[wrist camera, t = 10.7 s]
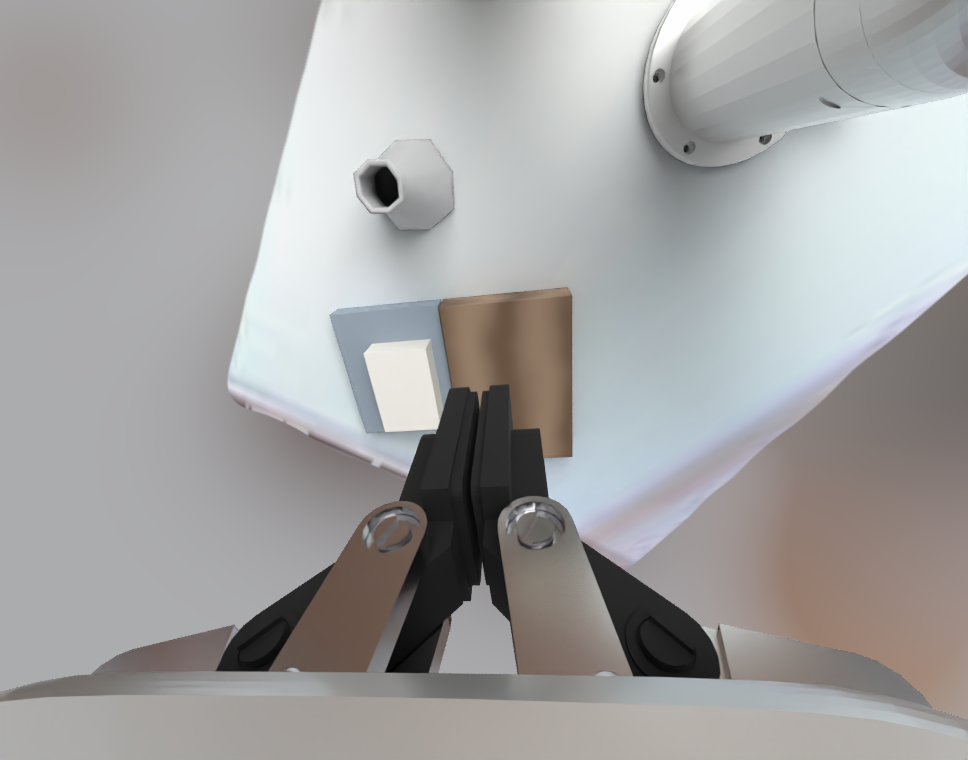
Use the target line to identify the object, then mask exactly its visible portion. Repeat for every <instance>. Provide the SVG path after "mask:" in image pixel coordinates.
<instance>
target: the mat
mask: <svg viewBox="0 0 968 760" xmlns="http://www.w3.org/2000/svg"><path fill="white" fill-rule="evenodd" d="M440 305H441V299H440V300H430V301H419V302H409V303H398V304H388V305H377V306H367V307H356V308H345V309H338V310H336V311H335V312H333V313H332V314H331V315H330V318H331V321H332V325H333V328H334V331H335V334H336V337H337V341H338V344H339V347H340V350H341V353H342V357H343V360H344V363H345V366H346V370H347V373H348V376H349V379H350V382H351V386H352V389H353V392H354V395H355V399H356V402H357V405H358V408H359V411H360V415H361V418H362V421H363V424H364V428H365V431H366V433H380V432H385V430H384V426H383V423H382V419H381V415H380V412H379V408H378V405H377V401H376V397H375V394H374V390H373V387H372V383H371V379H370V376H369V372H368V369H367V365H366V361H365V358H364V352H365V351H366V350H367V349H368V348H369V347H370V346H371V344H376V343H388V342H401V341H413V340H425V339H431V344H432V349H433V355H434V360H435V366H436V371H437V376H438V382H439V387H440V393H441V398H442V404H443V409H444V405H445V402H446V398H447V395H448V392H449V389H450V388H452V382H451V376H450V371H449V365H448V359H447V353H446V347H445V341H444V335H443V329H442V323H441V318H440V312H439V307H440Z"/></svg>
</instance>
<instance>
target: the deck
mask: <svg viewBox="0 0 968 760" xmlns="http://www.w3.org/2000/svg"><path fill="white" fill-rule="evenodd" d="M439 312H440V318H441V323H442V329H443V335H444V341H445V347H446V353H447V359H448V365H449V371H450V376H451V382H452V388H460V387H469V388H470V391H471V392H475V391H477V393H478V399H479V407H480V406H481V398H482V391H489V387H490V385H503V384H509V388H510V398H511V409H512V420H513V430H515V429H532V428H540V434H541V442H542V450H543V457H544V458H556V457H572V295H571V293H570V291H569V290H568V288H557V289H546V290H535V291H525V292H514V293H504V294H493V295H483V296H472V297H462V298H451V299H444V300H443V302H442V303H441V305H440V307H439Z"/></svg>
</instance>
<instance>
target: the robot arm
mask: <svg viewBox="0 0 968 760" xmlns="http://www.w3.org/2000/svg"><path fill="white" fill-rule="evenodd" d="M654 75H657V77H658V81H657V83H655V82H654V81H653V76H654ZM643 89H644V106H645V110H646V114H647V118H648V122H649V125H650V127H651V129H652V131H653V133H654V136H655V137H656V139H657V140H658V141H659V143H660V144H661V145H662V147H663V148H664V149H665V150H666V151H668V152H669V153H670V154H671V155H672V156H674V157H675V158H677V159H679V160H681V161H683V162H685V163H687V164H691V165H696V166H701V167H718V166H725V165H732V164H735V163H738V162H741V161H744V160H747V159H749V158H751V157H753V156H755V155H757V154H759V153H761V152H763V151H765V150H766V149H767V148H769V147H770V146H772V145H773V144H774V143H776V142H777V141H778V140H780V139H781V138H782V137H783V136H784V135H785V134H786V133H787V132H788V131H789V130H794V129H799V128H804V127H809V126H814V125H819V124H824V123H829V122H834V121H839V120H844V119H849V118H854V117H859V116H864V115H869V114H874V113H879V112H884V111H889V110H894V109H899V108H904V107H908V106H912V105H917V104H922V103H927V102H932V101H937V100H942V99H946V98H950V97H954V96H957V95H961V94H965V93H968V0H674V1H673V2H672V3H671V5H670V7H669V9H668V10H667V12H666V14H665V15H664V17H663V19H662V21H661V22H660V24H659V27H658V29H657V31H656V34H655V36H654V39H653V41H652V43H651V47H650V50H649V54H648V58H647V62H646V66H645V75H644V85H643ZM760 136H761V141H760V142H759V138H760ZM685 145H687V147H688V149H687V151H686V152H684V146H685ZM482 563H483V568H484V574H485V580H486V584H487V585H489V586H490V593H491V598H492V604H493V605H494V606H495V607H496V608H497V609H498V610H499V611H500V612H501V613H502V614H503V615H504V616H505V617H506V618H507V619H508V620H509V621H510V626H511V633H512V640H513V646H514V653H515V660H516V667H517V674H518V675H516V674H514V675H512V674H442V673H441V674H440V673H438V671H439V668H440V664H441V661H442V657H443V653H444V650H445V646H446V642H447V639H448V635H449V631H450V627H451V614H452V613H453V612H454V611H455V610H457V609H458V608H459V607H460V606H461V605H462V604H463V601H471V593H472V585H480V581H481V568H482ZM0 760H968V720H967V719H964V718H961V717H958V716H955V715H952V714H949V713H946V712H942V711H939V710H936V709H933V708H932V707H931V705H930V704H929V703H928V702H927V700H926V699H925V698H924V696H923V695H922V694H921V693H920V692H919V691H917V689H915V688H914V687H913V686H912V685H911V684H910V683H908V682H907V681H906V680H905V679H904V678H903V677H902V676H901V675H899V674H897V673H896V672H894V671H893V670H891V669H889V668H887V667H886V666H884V665H883V664H881V663H879V662H878V661H876V660H873V659H870V658H867V657H864V656H862V655H859V654H856V653H852V652H847V651H843V650H838V649H833V648H829V647H824V646H820V645H815V644H811V643H806V642H801V641H796V640H792V639H788V638H783V637H778V636H774V635H769V634H765V633H760V632H755V631H751V630H746V629H742V628H736V627H732V626H728V625H723V624H719V626H718V629H712V628H708V627H703V626H700V625H699V624H698V623H697V622H696V621H695V620H694V619H693V618H691V617H690V616H689V615H688V614H687V613H685V612H684V611H683V610H681V609H679V608H678V607H677V606H675V605H674V604H672V603H671V602H670V601H668V600H666V599H665V598H664V597H662V596H661V595H659V594H658V593H656V592H655V591H654V590H652V589H651V588H649V587H648V586H646V585H644V584H643V583H642V582H640V581H639V580H637V579H636V578H635V577H633V576H632V575H630V574H629V573H627V572H626V571H624V570H623V569H622V568H620V567H619V566H617V565H616V564H614V563H613V562H611V561H610V560H609V559H607V558H606V557H604V556H603V555H601V554H600V553H598V552H597V551H595V550H594V549H593V548H591V547H590V546H588V545H587V544H585V543H584V542H582V541H581V540H580V537H579V535H578V532H577V529H576V527H575V524H574V522H573V519H572V517H571V515H570V514H569V512H568V510H567V509H566V508H565V507H563V506H562V505H561V504H560V503H559V502H556V501H554V500H552V499H550V498H549V497H548V489H547V481H546V473H545V465H544V457H543V450H542V442H541V434H540V428H532V429H515V430H513V420H512V409H511V398H510V388H509V384H503V385H490V387H489V391H482V398H481V406H480V407H479V399H478V393H477V391H475V392H471V391H470V388H469V387H460V388H450V389H449V392H448V395H447V398H446V402H445V405H444V409H443V412H442V415H441V419H440V422H439V425H438V429H437V432H436V434H426V435H423V436H422V437H421V440H420V442H419V445H418V448H417V451H416V454H415V457H414V460H413V462H412V465H411V468H410V471H409V474H408V477H407V480H406V482H405V485H404V488H403V491H402V494H401V497H400V500H399V501H395V502H391V503H388V504H384V505H382V506H380V507H378V508H376V509H375V510H373V511H372V512H370V513H369V514H368V515H367V516H366V517H365V518H364V519H363V520H362V521H361V523H360V524H359V525H358V527H357V529H356V530H355V532H354V533H353V535H352V537H351V538H350V540H349V541H348V543H347V545H346V546H345V548H344V549H343V551H342V553H341V554H340V556H339V558H338V559H337V561H336V562H335V563H334V564H332V565H331V566H329V567H328V568H326V569H325V570H323V571H322V572H320V573H319V574H317V575H316V576H314V577H313V578H311V579H310V580H308V581H307V582H305V583H304V584H302V585H301V586H299V587H298V588H296V589H295V590H293V591H292V592H290V593H289V594H287V595H286V596H284V597H283V598H281V599H280V600H279V601H277V602H275V603H274V604H273V605H271V606H270V607H268V608H267V609H265V610H264V611H262V612H261V613H259V614H258V615H256V616H255V617H254V618H253V619H251V620H250V621H249V622H248V623H246V624H245V625H244V626H243V627H242V628H241V629H240V630H238V629H237V627H236V626H235V625H231V626H227V627H223V628H219V629H214V630H210V631H206V632H202V633H198V634H194V635H190V636H185V637H182V638H177V639H173V640H169V641H165V642H160V643H156V644H152V645H148V646H144V647H140V648H136V649H132V650H130V651H127V652H125V653H122V654H119V655H117V656H115V657H114V658H112V659H111V660H109V661H108V662H106V663H104V664H103V665H101V666H100V667H99V668H98V669H96V670H95V671H94V672H93V673H92V674H91V675H77V676H69V677H63V678H57V679H51V680H45V681H40V682H36V683H32V684H28V685H24V686H20V687H16V688H12V689H9V690H5V691H1V692H0Z"/></svg>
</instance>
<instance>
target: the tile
mask: <svg viewBox="0 0 968 760" xmlns="http://www.w3.org/2000/svg"><path fill="white" fill-rule="evenodd" d="M364 358H365V361H366V365H367V369H368V372H369V376H370V379H371V383H372V387H373V390H374V394H375V397H376V401H377V405H378V408H379V412H380V415H381V419H382V423H383V426H384V430H385V432H397V431H415V430H433V429H438V425H439V422H440V419H441V415H442V412H443V404H442V398H441V393H440V387H439V382H438V376H437V371H436V366H435V360H434V355H433V349H432V344H431V339H425V340H413V341H401V342H388V343H376V344H371V346H370V347H369V348H368V349H367V350H366V351H365V352H364Z"/></svg>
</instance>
